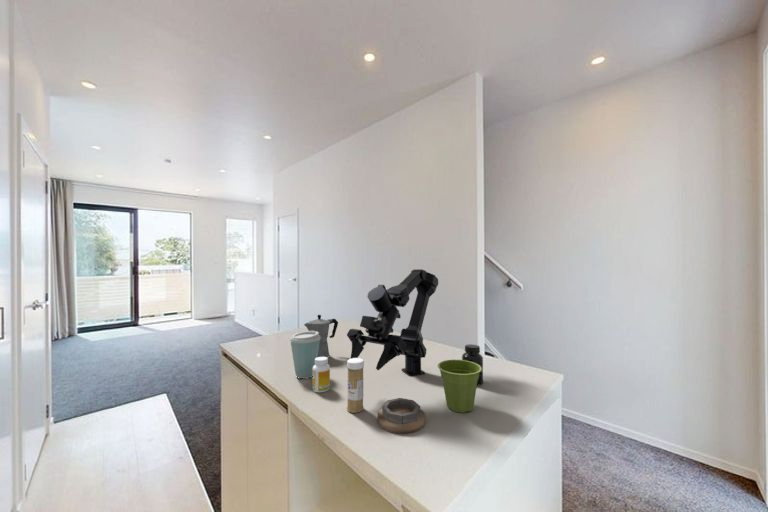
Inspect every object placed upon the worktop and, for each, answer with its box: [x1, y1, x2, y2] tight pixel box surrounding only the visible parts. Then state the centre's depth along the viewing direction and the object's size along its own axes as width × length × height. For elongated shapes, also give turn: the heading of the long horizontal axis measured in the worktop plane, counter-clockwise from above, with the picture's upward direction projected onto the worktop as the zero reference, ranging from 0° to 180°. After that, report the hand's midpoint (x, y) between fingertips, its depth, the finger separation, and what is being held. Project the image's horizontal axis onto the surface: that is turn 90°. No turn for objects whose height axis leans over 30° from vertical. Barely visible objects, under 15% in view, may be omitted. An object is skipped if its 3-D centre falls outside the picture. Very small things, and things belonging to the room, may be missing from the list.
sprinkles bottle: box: [346, 357, 365, 414], centre depth 82 cm, size 5×5×14 cm
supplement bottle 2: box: [461, 344, 484, 386], centre depth 101 cm, size 7×7×12 cm
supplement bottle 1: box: [311, 357, 331, 393], centre depth 96 cm, size 5×5×10 cm
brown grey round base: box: [377, 397, 426, 435], centre depth 76 cm, size 12×12×4 cm
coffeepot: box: [303, 314, 339, 357], centre depth 129 cm, size 15×9×18 cm, turn 125°
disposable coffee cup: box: [289, 330, 321, 379], centre depth 107 cm, size 11×11×15 cm
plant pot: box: [437, 359, 482, 414], centre depth 84 cm, size 12×12×11 cm
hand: (363, 366), depth 85 cm, fingers open, 9 cm apart
